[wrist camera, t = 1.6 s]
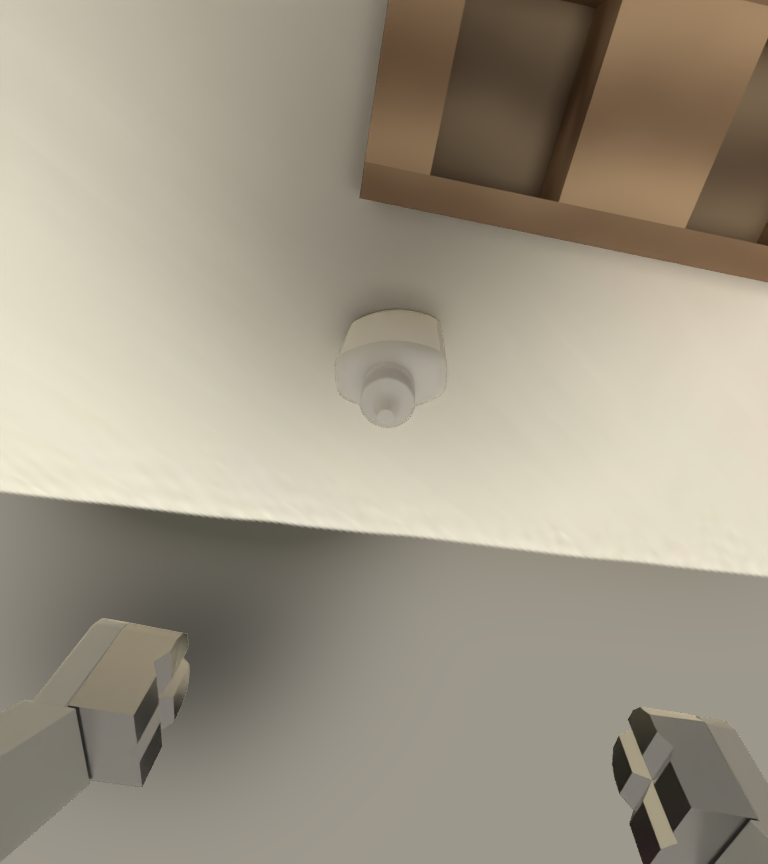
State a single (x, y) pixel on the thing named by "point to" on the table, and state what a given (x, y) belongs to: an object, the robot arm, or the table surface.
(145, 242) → the table surface
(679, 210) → the walnut slot rail
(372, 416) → the eye dropper bottle
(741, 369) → the table surface
